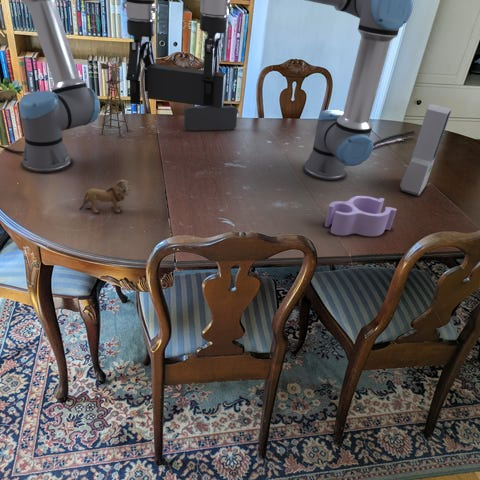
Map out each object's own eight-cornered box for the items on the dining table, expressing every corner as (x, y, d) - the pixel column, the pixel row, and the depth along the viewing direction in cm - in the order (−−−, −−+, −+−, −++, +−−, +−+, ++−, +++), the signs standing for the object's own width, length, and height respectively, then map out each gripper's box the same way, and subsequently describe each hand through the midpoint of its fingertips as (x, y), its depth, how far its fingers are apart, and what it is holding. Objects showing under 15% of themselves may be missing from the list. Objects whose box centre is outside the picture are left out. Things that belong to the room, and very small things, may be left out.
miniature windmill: (120, 137, 185) (116, 58, 169) (100, 134, 186) (94, 55, 170) (129, 130, 193) (126, 54, 176) (110, 127, 194) (105, 51, 177)
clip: (337, 240, 135) (342, 219, 131) (318, 218, 145) (322, 198, 141) (395, 233, 141) (402, 213, 137) (373, 213, 151) (378, 194, 147)
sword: (410, 136, 218) (410, 134, 218) (415, 138, 216) (416, 136, 216) (366, 148, 203) (366, 145, 202) (371, 151, 201) (372, 148, 200)
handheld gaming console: (234, 127, 207) (236, 105, 202) (236, 129, 205) (238, 107, 200) (183, 128, 200) (184, 105, 195) (185, 131, 198) (185, 107, 192)
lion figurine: (129, 202, 142) (128, 176, 137) (131, 211, 138) (130, 184, 133) (78, 207, 137) (75, 179, 132) (79, 216, 133) (76, 188, 128)
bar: (147, 98, 137) (146, 67, 132) (151, 94, 141) (151, 63, 136) (221, 108, 136) (223, 76, 131) (223, 103, 139) (226, 72, 135)
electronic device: (418, 197, 164) (446, 113, 148) (397, 190, 167) (423, 108, 151) (426, 185, 173) (454, 105, 157) (406, 179, 176) (431, 100, 160)
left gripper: (140, 27, 117) (142, 111, 128) (166, 15, 138) (165, 88, 149) (111, 24, 117) (115, 107, 129) (141, 12, 138) (142, 85, 150)
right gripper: (223, 21, 117) (217, 112, 130) (232, 13, 132) (226, 95, 145) (193, 18, 118) (190, 109, 130) (206, 10, 132) (202, 92, 145)
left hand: (142, 97), depth 139 cm, fingers open, 13 cm apart
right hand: (209, 102), depth 137 cm, fingers closed on bar, 4 cm apart
